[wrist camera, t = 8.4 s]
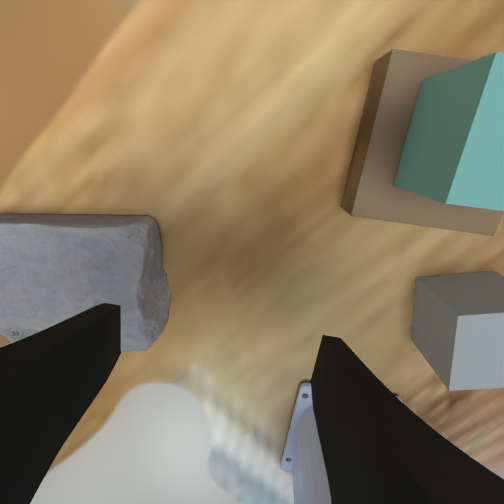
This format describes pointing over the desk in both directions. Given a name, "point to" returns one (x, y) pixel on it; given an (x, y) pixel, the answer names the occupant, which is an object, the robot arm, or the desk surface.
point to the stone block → (82, 273)
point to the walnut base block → (391, 147)
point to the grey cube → (461, 328)
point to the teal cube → (458, 137)
